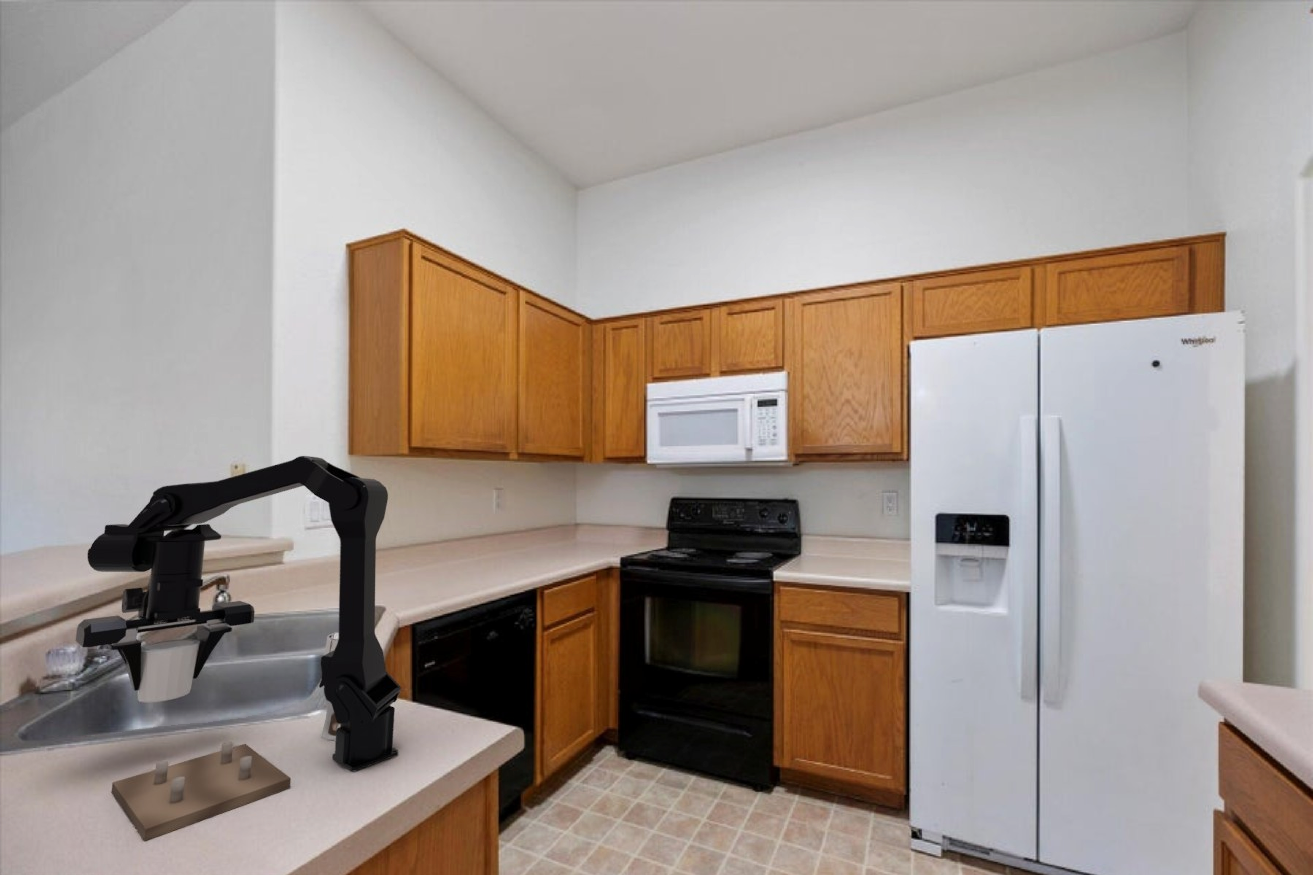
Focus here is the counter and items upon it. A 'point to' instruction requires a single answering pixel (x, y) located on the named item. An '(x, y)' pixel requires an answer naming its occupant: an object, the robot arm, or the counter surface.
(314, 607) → the counter surface
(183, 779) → the pin board
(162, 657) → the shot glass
